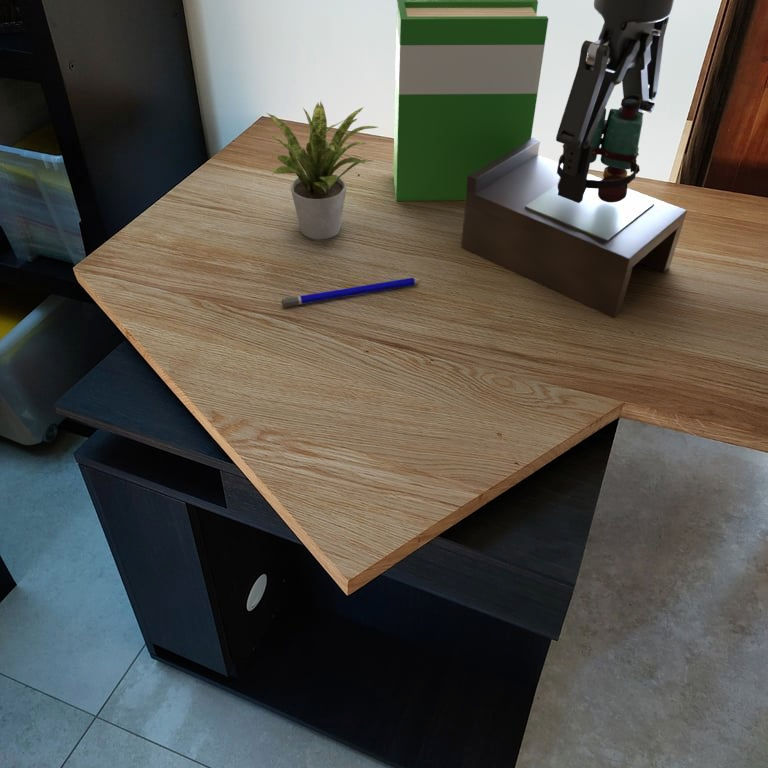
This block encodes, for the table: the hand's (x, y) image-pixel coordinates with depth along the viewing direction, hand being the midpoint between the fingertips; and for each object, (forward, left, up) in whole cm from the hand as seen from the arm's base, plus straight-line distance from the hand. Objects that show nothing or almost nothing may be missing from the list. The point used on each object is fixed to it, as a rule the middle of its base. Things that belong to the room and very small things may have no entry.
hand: (595, 180), depth 90 cm
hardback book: (+23, -5, -12) cm, 26 cm away
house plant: (+28, +16, -12) cm, 34 cm away
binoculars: (0, 0, -2) cm, 2 cm away
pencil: (+16, +24, -11) cm, 31 cm away
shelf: (+2, 0, -11) cm, 11 cm away
